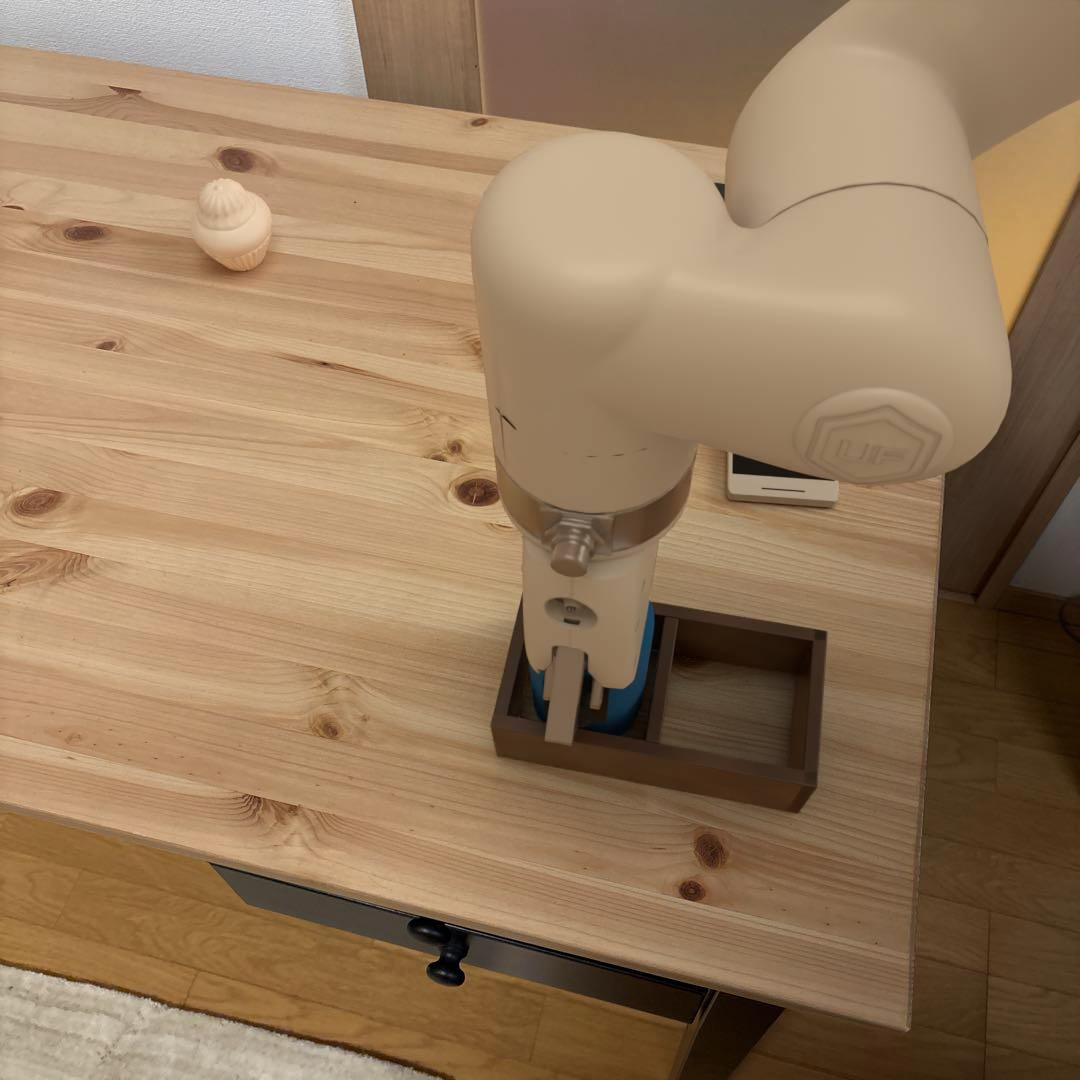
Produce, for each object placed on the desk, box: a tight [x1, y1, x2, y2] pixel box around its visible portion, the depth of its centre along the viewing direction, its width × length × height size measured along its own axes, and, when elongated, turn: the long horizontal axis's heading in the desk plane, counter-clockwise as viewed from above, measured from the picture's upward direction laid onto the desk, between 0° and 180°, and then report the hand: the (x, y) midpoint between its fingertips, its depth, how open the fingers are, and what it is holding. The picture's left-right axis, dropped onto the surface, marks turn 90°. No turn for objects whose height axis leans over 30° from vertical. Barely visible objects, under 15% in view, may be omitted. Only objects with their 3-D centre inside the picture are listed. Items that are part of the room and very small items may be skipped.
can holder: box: [490, 591, 829, 814], centre depth 57 cm, size 17×9×5 cm, turn 78°
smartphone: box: [726, 451, 840, 508], centre depth 69 cm, size 7×16×1 cm, turn 174°
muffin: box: [189, 177, 273, 272], centre depth 76 cm, size 6×6×7 cm
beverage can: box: [529, 598, 654, 737], centre depth 54 cm, size 6×6×12 cm
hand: (588, 648), depth 53 cm, fingers closed on beverage can, 6 cm apart
